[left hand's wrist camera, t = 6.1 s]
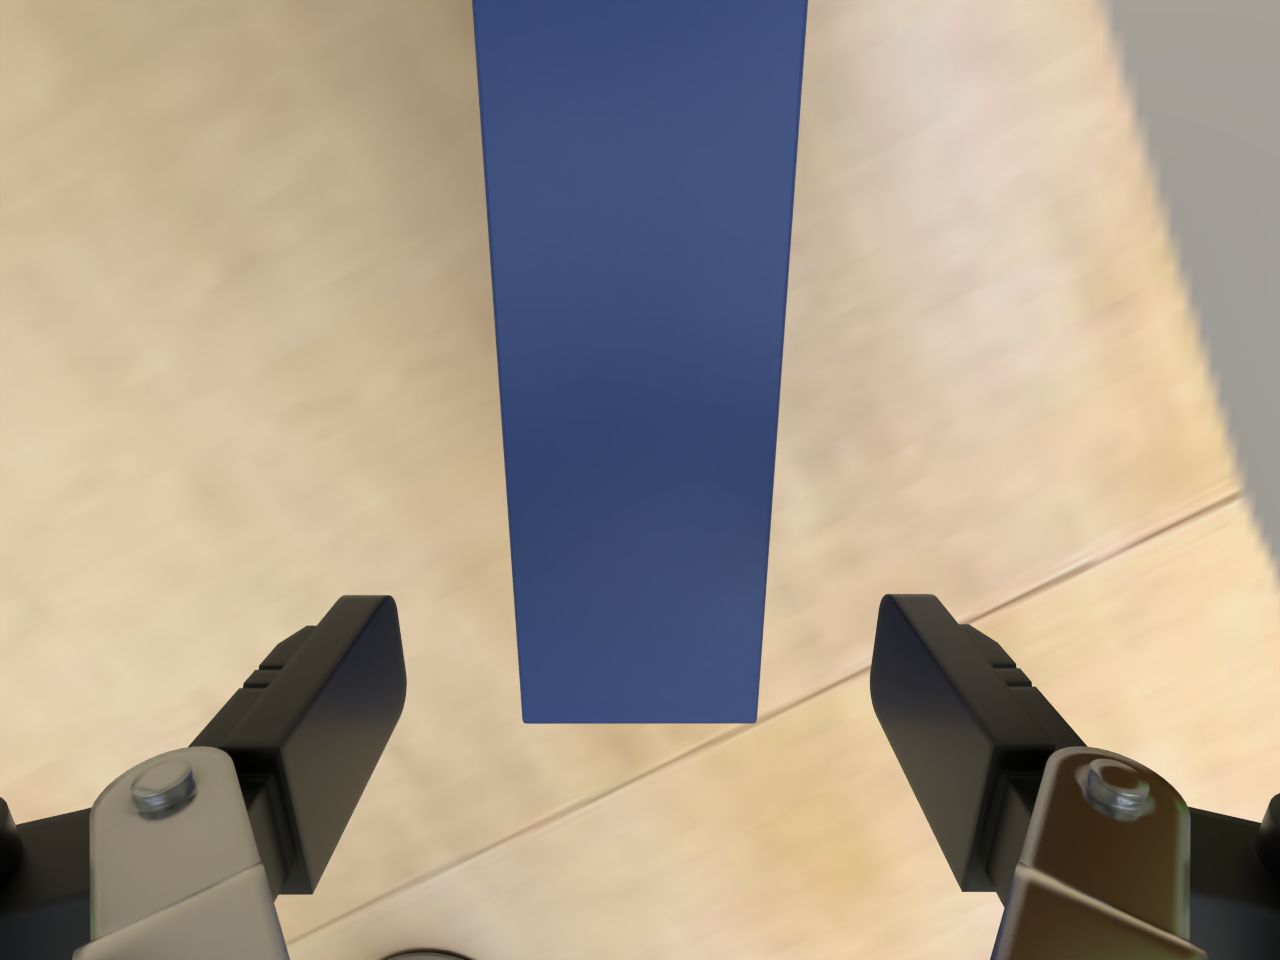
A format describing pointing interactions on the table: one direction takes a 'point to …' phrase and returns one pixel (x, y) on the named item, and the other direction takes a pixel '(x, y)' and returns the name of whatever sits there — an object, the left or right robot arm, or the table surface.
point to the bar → (639, 339)
